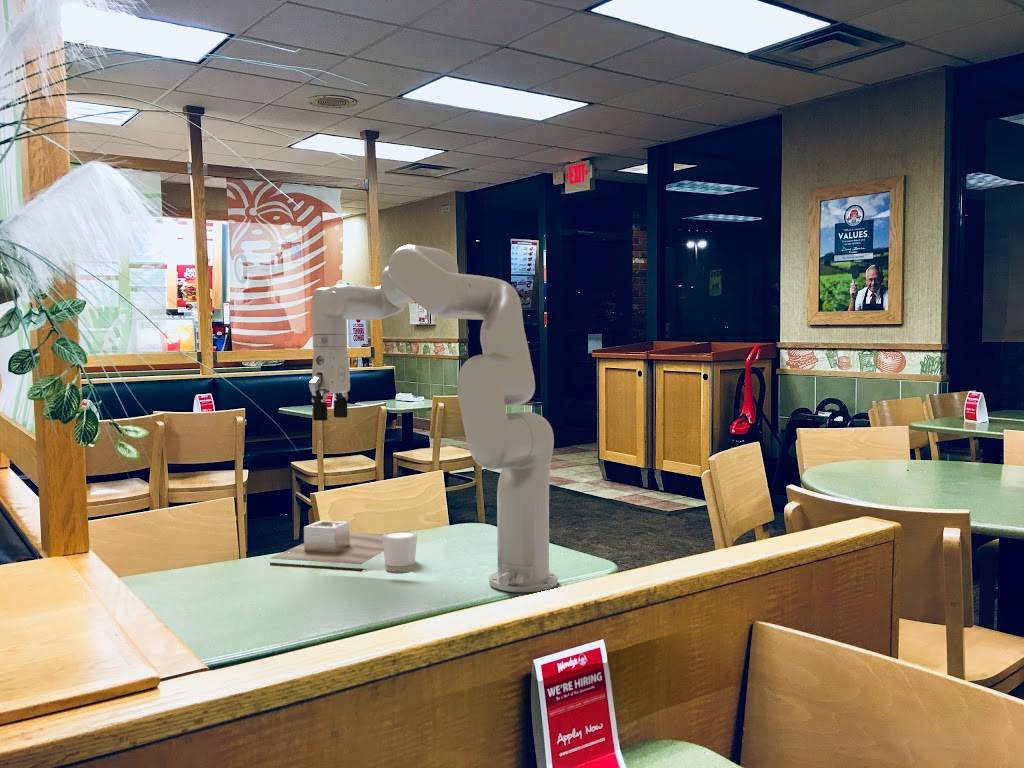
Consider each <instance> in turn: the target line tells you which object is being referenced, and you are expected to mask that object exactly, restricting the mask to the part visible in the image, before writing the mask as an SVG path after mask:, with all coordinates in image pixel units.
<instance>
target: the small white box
mask: <svg viewBox="0 0 1024 768" xmlns="http://www.w3.org/2000/svg"><path fill="white" fill-rule="evenodd" d="M323 526H333V527H323ZM349 533H350V521H338V520H337V521H335V520H317V521H315V522H313V523H310V524H308V525H306V526H304V527H303V543H304V551H320V552H336V551H338V550H340V549H342V548H344V547H346V546H348V545H350V535H349Z"/></svg>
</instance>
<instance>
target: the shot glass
mask: <svg viewBox="0 0 1024 768" xmlns="http://www.w3.org/2000/svg"><path fill="white" fill-rule="evenodd" d="M382 537H383V547H384V551H383V556H384V564H385V565H387V566H390V567H405V566H406V567H407V566H411V565H414V564H415V563H416V553H417V540H418V534H417V533H416V532H411V531H392V532H387V533H384V535H383V536H382ZM385 572H386V573H389V574H395V575H397V574H398V575H400V574H401V575H402V574H409V573H410V571H409V570H408V571H404V570H391V569H389V570H388V569H385Z"/></svg>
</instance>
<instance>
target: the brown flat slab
mask: <svg viewBox="0 0 1024 768" xmlns="http://www.w3.org/2000/svg"><path fill="white" fill-rule="evenodd" d="M384 534H385V533H384ZM384 534H383V533H364V532H363V533H362V532H349V535H350V545H348V546H346V547H344V548H342V549H340V550H338V551H336V552H320V551H304V542H303V543H301V544H299V545H297V546H294V547H292V548H289V549H288V550H285V551H283V552H281V553H279V554H275V555H274V556H271V557H270V559H273V560H274V559H276V560H288V561H289V560H290V561H305V562H307V561H308V562H320V563H321V562H323V563H335V564H336V563H338V564H353V565H354V564H356V565H362V564H364V563H365V562H368V561H369V560H371V559H372V558H374V557H376V556H378V555H380V554H381V553H384V547H383V537H382V536H383V535H384ZM288 552H290V553H288ZM269 566H273V567H289V568H301V569H302V568H305V569H317V570H331V571H332V570H333V571H335V570H336V571H348V572H349V571H350V572H363V571H365V568H361V567H360V568H358V567H346V566H345V567H344V566H343V567H342V566H329V565H328V566H327V565H316V564H315V565H312V564H297V563H285V562H284V563H281V562H269Z"/></svg>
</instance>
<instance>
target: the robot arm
mask: <svg viewBox="0 0 1024 768" xmlns="http://www.w3.org/2000/svg"><path fill="white" fill-rule="evenodd" d="M379 279H380V280H379V285H378V286H366V285H359V284H358V285H355V284H344V283H343V284H336V285H332V286H330V287H319V288H316V289H314V290H313V292H312V296H311V297H312V299H311V300H312V303H311V305H312V350H313V355H312V368H311V370H312V372H311V374H312V375H311V376H312V377H311V380H310V381H309V383H308V387H309V390H310V393H309V394H310V396H311V402H312V420H313V421H318V422H319V421H321V422H322V421H323V422H325V421H327V420H328V401H326V400H327V398H328V396H329V393H331V394H333V396H334V397H333V398H334V399H333V417H334V418H340V419H341V418H347V417H348V399H349V393H350V390H351V375H350V374H351V373H350V361H349V354H348V336H347V334H348V330H347V329H348V324H347V322H348V321H347V320H355V321H356V320H357V321H358V320H359V321H361V320H362V321H379V320H383V319H386V318H389V317H392V316H395V315H398V314H400V313H402V312H403V311H404V309H406V307H407V306H408V304H409V303H412V302H415V303H416V304H418V305H419V306H420V307H421V308H423V309H424V310H425V311H427V312H428V313H429V314H432V315H433V316H435V317H439V318H442V319H456V320H480V321H481V320H482V323H481V327H480V332H479V333H480V334H479V338H480V339H479V340H480V345H481V349H482V354H478V355H473V356H472V357H470V358H468V359H467V360H466V361H465V362H464V363H463V364H462V365H461V367H460V370H459V372H458V375H457V382H456V390H457V391H456V393H457V399H458V403H459V408H460V409H459V410H460V415H461V418H462V425H463V430H464V434H465V440H466V444H467V447H468V451H469V453H470V455H471V457H472V459H473V460H474V462H475V463H476V464H477V465H478V466H480V467H481V468H484V469H487V470H499V469H501V471H500V474H499V478H498V482H497V493H496V495H497V499H496V502H497V503H496V507H497V509H496V510H497V511H496V512H497V513H496V518H497V520H496V521H497V522H496V523H497V528H496V529H497V543H496V544H497V572H494V573H492V574H491V575H490V576H489V578H488V579H489V581H488V582H489V585H490V586H491V587H492V588H494V589H496V590H499V591H504V592H510V593H538V592H543V591H542V590H544V591H547V589H548V590H550V589H553V588H555V587H556V586H557V584H558V576H557V575H556V574H555V573H554V572H552V571H550V474H551V466H552V465H551V464H552V459H553V458H552V457H553V453H554V445H555V438H554V437H555V435H554V431H553V428H552V426H551V424H550V423H549V421H548V420H547V419H546V418H545V417H543V416H542V415H541V414H538V413H536V412H529V411H517V412H507V408H506V407H513V406H520V405H522V404H523V405H524V404H526V403H527V402H529V401H531V399H532V398H533V396H534V394H535V391H536V380H535V374H534V370H533V365H532V360H531V354H530V349H529V343H528V341H527V336H526V332H525V328H524V327H525V326H524V318H523V309H522V302H521V298H520V296H519V294H518V292H517V290H516V289H515V288H514V286H512V285H511V284H510V283H509V282H507V281H505V280H503V279H499V278H495V277H490V276H486V275H485V276H484V275H483V276H482V275H477V274H475V275H474V274H467V273H466V274H465V273H459V267H458V262H457V261H456V259H455V257H453V255H452V254H451V253H449V252H448V251H445V250H443V249H441V248H435V247H431V246H429V247H428V246H424V245H417V244H416V245H415V244H406V245H403V246H400V247H399V248H397V249H396V250H395V251H394V252H393V253H392V254H391V256H390V257H389V260H388V265H387V266H386V267H385V268H384V269H383V270H382V272H381V274H380V278H379Z"/></svg>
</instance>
